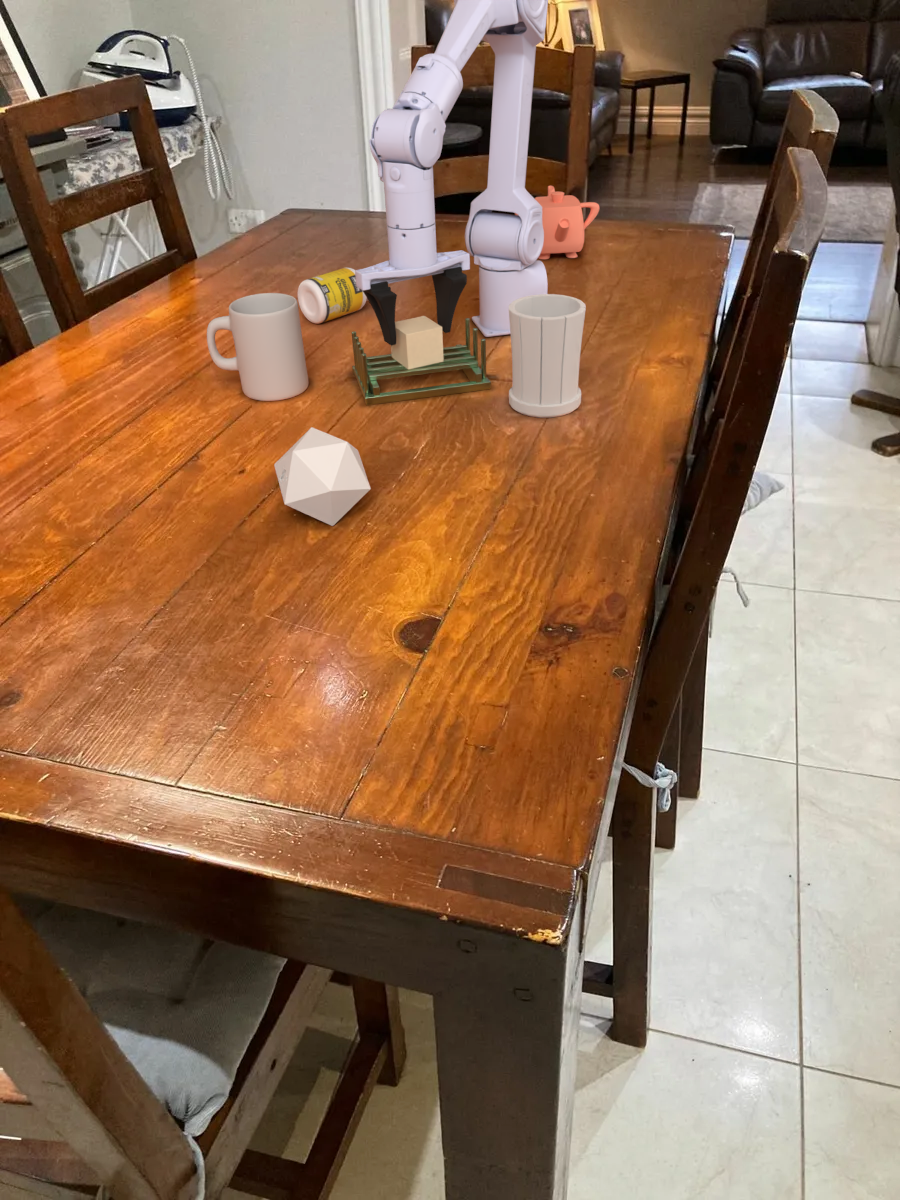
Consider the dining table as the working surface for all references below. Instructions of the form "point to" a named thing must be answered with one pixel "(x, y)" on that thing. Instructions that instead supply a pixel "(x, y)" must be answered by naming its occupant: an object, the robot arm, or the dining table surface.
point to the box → (418, 342)
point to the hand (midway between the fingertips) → (417, 336)
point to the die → (322, 476)
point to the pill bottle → (330, 295)
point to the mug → (264, 346)
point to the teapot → (563, 223)
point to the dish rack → (420, 371)
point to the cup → (546, 354)
